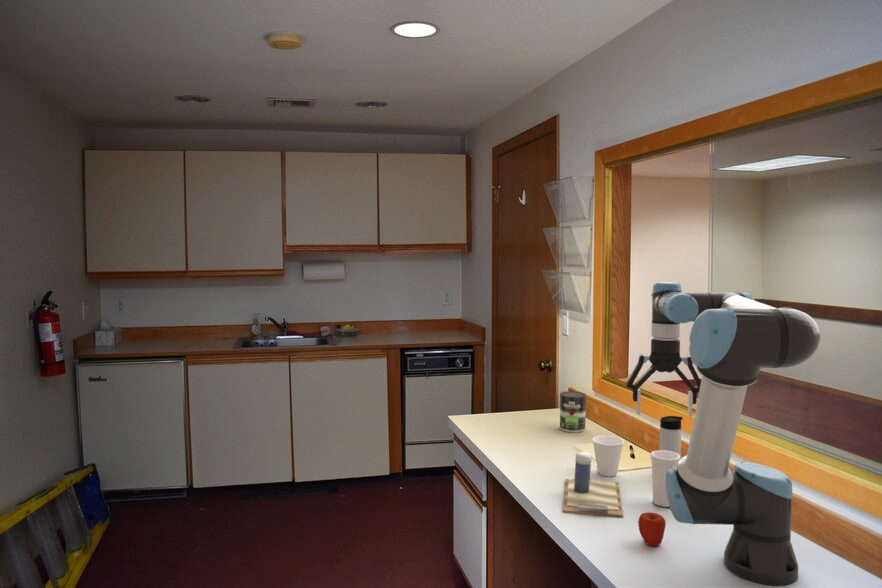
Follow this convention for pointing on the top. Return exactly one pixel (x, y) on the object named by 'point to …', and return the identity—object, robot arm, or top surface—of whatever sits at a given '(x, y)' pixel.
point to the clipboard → (593, 499)
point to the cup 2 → (662, 474)
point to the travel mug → (670, 434)
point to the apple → (652, 528)
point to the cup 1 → (607, 454)
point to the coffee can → (572, 411)
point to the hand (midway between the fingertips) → (663, 414)
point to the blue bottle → (582, 472)
